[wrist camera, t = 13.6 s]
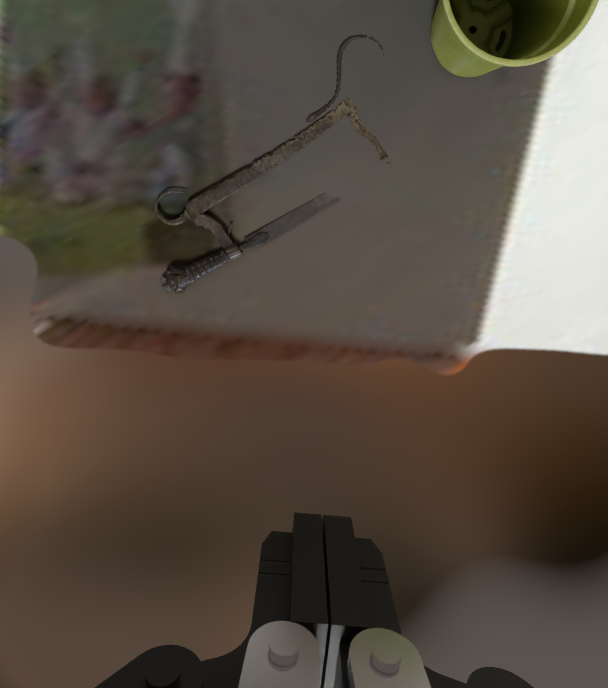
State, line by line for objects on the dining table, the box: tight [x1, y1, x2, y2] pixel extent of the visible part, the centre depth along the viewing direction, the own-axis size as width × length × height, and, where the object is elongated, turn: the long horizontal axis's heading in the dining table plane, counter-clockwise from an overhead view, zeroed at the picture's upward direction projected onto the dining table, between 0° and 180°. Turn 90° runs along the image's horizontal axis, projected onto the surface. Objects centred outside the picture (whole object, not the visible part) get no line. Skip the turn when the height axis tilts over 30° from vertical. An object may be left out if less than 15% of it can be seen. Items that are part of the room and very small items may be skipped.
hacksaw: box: [154, 34, 390, 294], centre depth 37 cm, size 24×10×2 cm, turn 119°
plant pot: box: [431, 0, 599, 77], centre depth 31 cm, size 9×9×9 cm
